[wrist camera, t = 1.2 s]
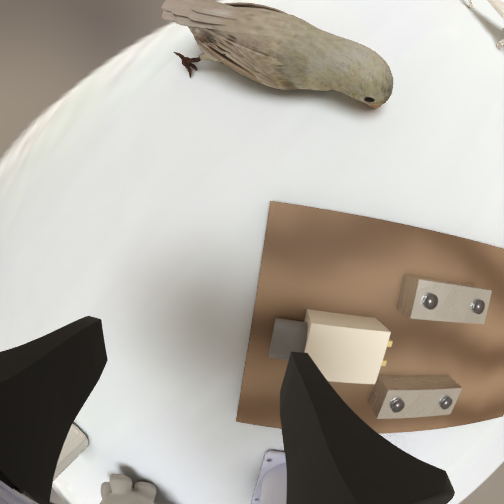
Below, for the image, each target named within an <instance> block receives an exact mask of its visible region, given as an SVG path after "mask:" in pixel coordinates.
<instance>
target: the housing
mask: <svg viewBox="0 0 504 504" xmlns="http://www.w3.org/2000/svg"><path fill="white" fill-rule="evenodd" d="M491 293H492V290H488V289H485V288H482V287H478V286H475V285H469V284H463V283H456V282H450V281H444V280H437V279H431V278H424V277H418V276H412V275H405V274H404V275H403V280H402V286H401V291H400V295H399V300H398V304H397V310H399V311H400V312H402V313H403V314H405V315H406V316H408V317H409V318H411V319H422V320H433V321H445V322H458V323H473V324H484V322H485V318H486V315H487V310H488V306H489V302H490V297H491ZM461 390H462V387H461V386H460V385H459V384H458V383H457V382H456V381H454V380H453V379H452V378H451V377H450V376H449V375H379V374H378V377H377V380H376V383H375V385H374V388H373V391H372V394H371V397H370V399H369V403H370V405H371V408H372V410H373V412H374V414H375V416H376V418H377V419H394V418H415V417H429V416H439V415H448V414H451V412H452V410H453V408H454V405H455V403H456V401H457V399H458V397H459V394H460V392H461Z"/></svg>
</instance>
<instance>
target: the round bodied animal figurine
mask: <svg viewBox="0 0 504 504" xmlns="http://www.w3.org/2000/svg"><path fill="white" fill-rule="evenodd" d="M101 496H102V499H103V500H102V501H101V503H100V504H154V499H155V496H156V487H155V486H154V485H153V484H151V483H148V482H136V483H135V486H134V489H132V480H131V478H129V477H128V476H126V475H122V474H112V475H111V476H110V482H104V483H102V485H101Z"/></svg>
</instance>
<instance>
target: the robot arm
mask: <svg viewBox="0 0 504 504" xmlns="http://www.w3.org/2000/svg"><path fill="white" fill-rule="evenodd" d="M106 362H107V354H106V349H105V343H104V337H103V330H102V323H101V319H98V318H94V317H91V316H87V317H84V318H81V319H79V320H77V321H75V322H72V323H70V324H68V325H66V326H64V327H62V328H60V329H58V330H56V331H53V332H51V333H49V334H47V335H45V336H43V337H40V338H38V339H36V340H33V341H31V342H28V343H26V344H24V345H21V346H18V347H15V348H12V349H9V350H6V351H2V352H0V504H34V503H33V502H31V501H30V500H28V499H26V498H25V497H23V496H22V495H20V494H19V493H23V494H24V495H26V496H27V497H29V498H30V499H32V500H34V501H35V502H37V503H39V504H49V501H50V494H51V488H52V483H53V478H54V474H55V470H56V466H57V463H58V459H59V456H60V453H61V451H62V448H63V445H64V442H65V440H66V437H67V435H68V432H69V430H70V428H71V425H72V423H73V422H74V420H75V418H76V416H77V415H78V413H79V411H80V410H81V408H82V406H83V405H84V403H85V401H86V400H87V398H88V397H89V395H90V393H91V392H92V390H93V388H94V387H95V385H96V384H97V382H98V380H99V378H100V376H101V374H102V372H103V369H104V367H105V365H106ZM280 419H281V427H282V435H283V443H284V451H285V452H277V451H267V452H266V453H265V457H264V460H263V464H262V467H261V471H260V474H259V478H258V481H257V484H256V488H255V491H254V494H253V498H252V501H251V504H447V503H448V502H449V501H450V500H451V499H452V498H453V496H454V493H455V492H454V489H453V487H452V485H451V482H450V480H449V478H448V475H447V473H446V471H444V470H442V469H439V468H437V467H435V466H432V465H430V464H428V463H425V462H423V461H421V460H419V459H417V458H415V457H413V456H411V455H410V454H408V453H406V452H404V451H403V450H401V449H399V448H398V447H396V446H395V445H393V444H392V443H390V442H389V441H388V440H386V439H385V438H383V437H382V436H381V435H379V434H378V433H377V432H376V431H374V430H373V429H372V428H371V427H370V426H368V425H367V424H366V423H365V422H364V421H363V420H362V419H361V418H360V417H359V416H358V415H357V414H356V413H354V412H353V410H352V409H351V408H350V407H349V406H348V405H347V404H346V403H345V402H344V401H343V400H342V398H341V397H340V396H339V395H338V394H337V392H336V391H335V390H334V389H333V387H332V386H331V385H330V383H329V382H328V381H327V379H326V378H325V377H324V375H323V374H322V373H321V371H320V370H319V368H318V367H317V366H316V364H315V363H314V361H313V360H312V358H311V357H310V356H309V354H308V353H301V352H291V354H290V357H289V361H288V365H287V368H286V372H285V375H284V379H283V382H282V386H281V389H280ZM269 458H270V459H269ZM13 488H14V489H15V490H17V491H18V492H19V493H17V492H15V491H14V490H13Z"/></svg>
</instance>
